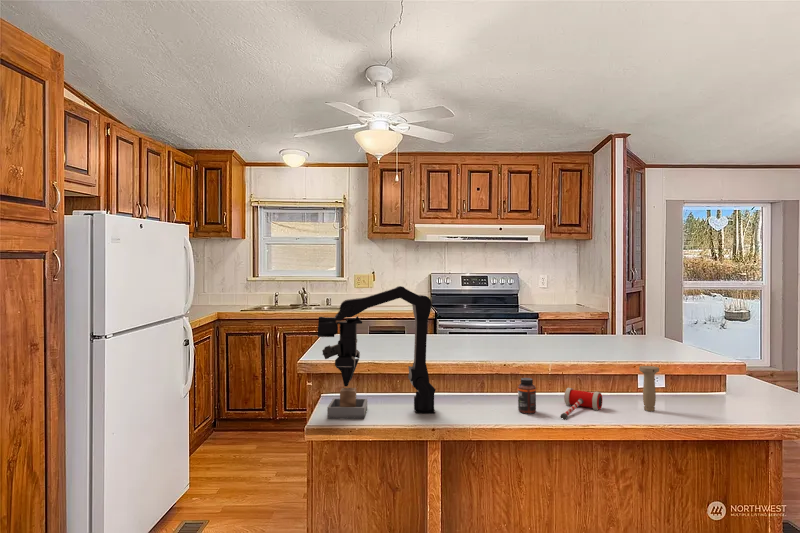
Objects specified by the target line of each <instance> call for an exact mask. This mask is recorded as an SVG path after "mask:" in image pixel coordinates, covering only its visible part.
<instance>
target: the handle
mask: <svg viewBox="0 0 800 533" xmlns="http://www.w3.org/2000/svg"><path fill="white" fill-rule="evenodd" d="M638 370H639V372H641V373H642V374H643V386H642V389H643V390H642V401H643V402H642V403H643V409H644V411H646V410H647V411H646V412H651V411H653V412H655V409H656V407H655V405H656V401H657V400H656V398H657V395H656V394H657V393H656V379H655V378H656V377H655V375H656V374H657V373H658V372H660V367H658V366H655V365H652V366H651V365H641V366H639V367H638Z"/></svg>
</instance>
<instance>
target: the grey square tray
mask: <svg viewBox="0 0 800 533" xmlns="http://www.w3.org/2000/svg"><path fill="white" fill-rule="evenodd" d="M326 411H327V415H326V417H327V419H340V418H345V419H346V418H347V419H351V420H352V419H353V420H355V419H356V420H357V419H361V420H364V419H365V418H366V415H365V414H367V412H366V411H368V398H356V407H340V397H339V398H332V400H331V401H330V403H329V404H328V406H327V409H326ZM347 419H346V420H347Z"/></svg>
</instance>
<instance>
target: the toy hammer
mask: <svg viewBox="0 0 800 533" xmlns="http://www.w3.org/2000/svg"><path fill="white" fill-rule="evenodd" d="M563 399H564V404H565V406H568V405H571V406H570V407H569V409H567V410H566V411H565V412H563V413H561V414H560V417H559V418H560V419H561V418H563V419H562V420H565V419H566V418H567V419H568V416H569V415H570V414H571V413H573V412H574V411H575V410H576V409H578V407H583V408H588V409H589V408H590V409H593V410H594V409H595V410H594V411H599V410H598V409H600V410H601V409H602V406H603V395H602V392H601V391H594V392H589V391H584V390H578V389H576V390H575V389H574V388H573V387H572V388H571V387H567V388H566V389H565V392H564V396H563ZM567 419H566V420H567Z"/></svg>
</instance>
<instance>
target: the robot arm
mask: <svg viewBox="0 0 800 533" xmlns="http://www.w3.org/2000/svg"><path fill="white" fill-rule="evenodd" d="M398 299H402V300H403V301H405V302H407V303H409V304H411V306H412V311H413V312H412V313H413V317H414V324H415V326H414V348H413V349H414V351H413V353H414V354H413V363H412V365H410V366H408V375H407V379H408V380H409V382H410V384H411V385H412V387H413V388H414V389H415V390H416V391H415V396H413V409H414V411H415V413H416V414H435V413H436V412H435V411H436V410H435V394H436V388H435V387H434V386H433V385H432V384H431V382H430V378H429V372H428V368H427V362H426V361H427V340H428V339H427V336H428V335H427V334H428V321H429V318H430V314H431V312H432V305H433V302H432V299H431V298H430V297H429V296H428V295H427V296H426V295H424V294H417V293H415V292H413V291H410V290H409V289H407V288H405V287H404V286H399V285H398V286H396V287H394V288H391V289H388V290H384V291H381V292H378V293H375V294H371V295H368V296H364V297H358V298H350V299H345V300H343V301H342V302H341V303H340V306H339V311H338V312H337V313H336V314H335V315H334V316H332V317H328V316H326V317H325V316H318V323H317V324H318V325H317V338H335V335H336V336H337V335H338V334H339V340H338V341H337V344H334V345H330V344H329V345H327V346H324V348H323V349H322V356H323V357H324V360H327V359H328V360H329V358H333V357H334V356H337V358H336V359H334V367H336V369H338V371H340V372H341V376H342V377H341V378H342V382H343V385H344V387H348V386H349V383H350V381H352V379H353V376H354V375H355V374H354V373H355V371H356V368H357V366H358V363H359V360H360V356H361V354H360V352H361V351H359V350H358V349H357V348H358V347H357V343H358V338H357V337H358V336H357V335H358V334H357V333H358V327H357V326H358V325H362V324H363V321H362V320H361V319H360V318H359V316H357V315H358V314H360V313H362V312H363V311H365V310H367V309H370V308H372V307H375V306H379V305H383V304H386V303H388V302H391V301H394V300H398ZM353 317H355V318H353ZM345 318H346V321H344V319H345ZM357 324H358V325H357ZM338 331H339V332H338Z"/></svg>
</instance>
